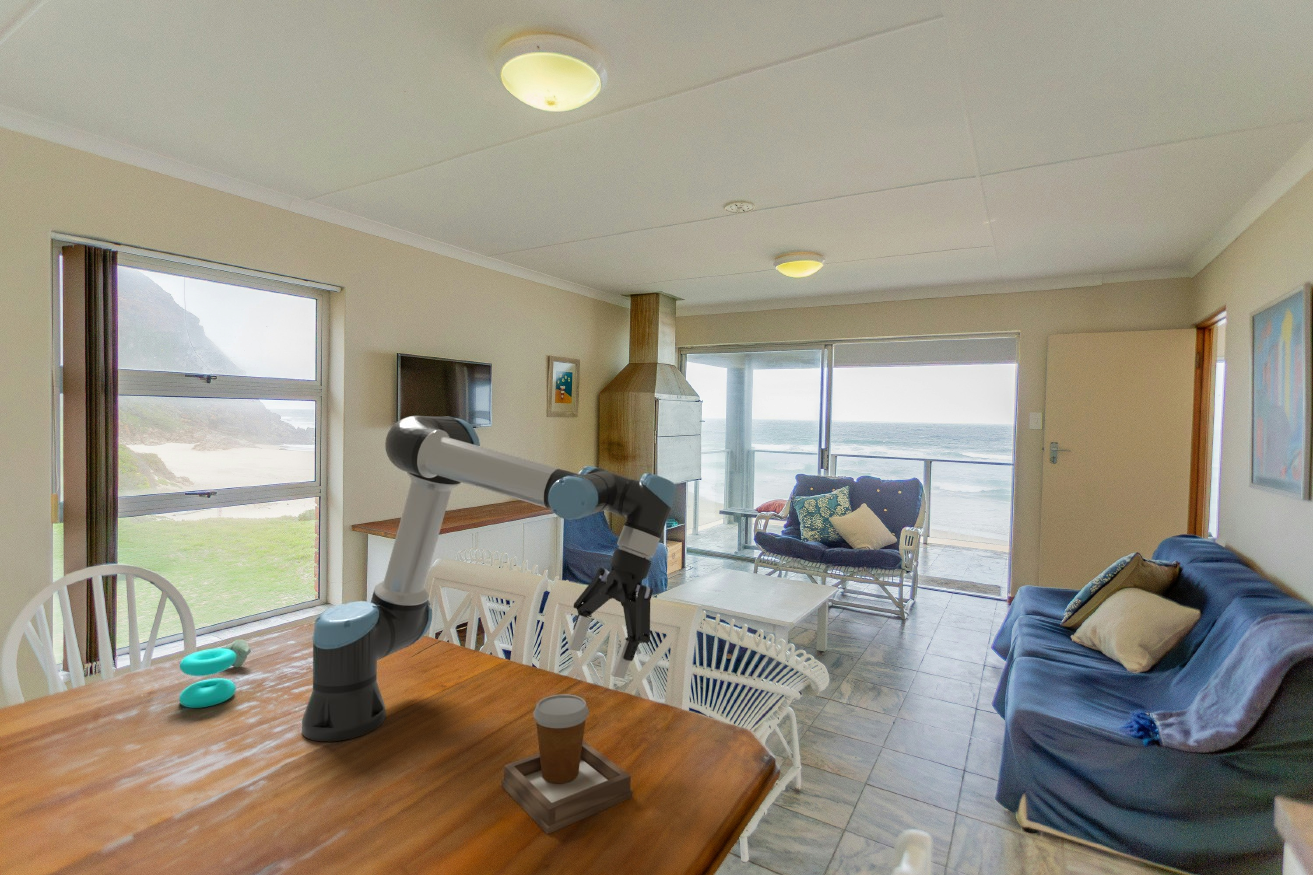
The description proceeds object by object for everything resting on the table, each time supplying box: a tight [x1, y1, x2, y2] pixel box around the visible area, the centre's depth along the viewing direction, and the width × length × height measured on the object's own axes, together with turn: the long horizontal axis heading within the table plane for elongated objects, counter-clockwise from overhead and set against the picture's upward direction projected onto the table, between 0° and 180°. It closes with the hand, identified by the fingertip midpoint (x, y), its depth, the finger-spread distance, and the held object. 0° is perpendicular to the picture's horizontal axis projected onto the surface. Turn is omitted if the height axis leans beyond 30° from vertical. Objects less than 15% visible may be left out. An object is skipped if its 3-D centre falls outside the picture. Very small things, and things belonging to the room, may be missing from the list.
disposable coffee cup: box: [532, 693, 590, 783], centre depth 108 cm, size 10×10×12 cm
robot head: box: [221, 638, 252, 669], centre depth 154 cm, size 8×4×7 cm, turn 76°
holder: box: [500, 740, 634, 835], centre depth 105 cm, size 16×16×4 cm
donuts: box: [178, 647, 236, 709], centre depth 136 cm, size 10×10×10 cm
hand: (594, 662), depth 115 cm, fingers open, 13 cm apart
